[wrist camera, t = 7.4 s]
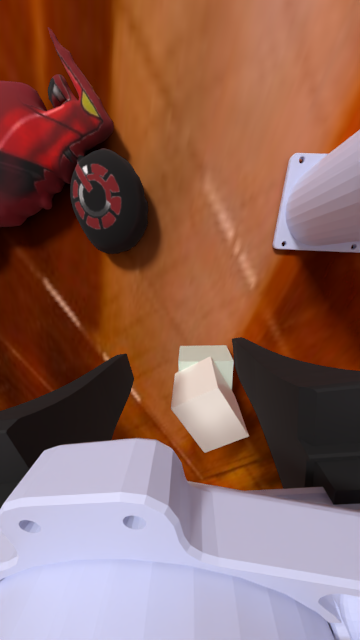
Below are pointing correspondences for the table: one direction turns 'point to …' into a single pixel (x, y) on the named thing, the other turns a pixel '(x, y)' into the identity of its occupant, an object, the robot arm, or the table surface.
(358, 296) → the table surface
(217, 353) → the sage base brick
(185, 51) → the table surface
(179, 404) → the cream brick
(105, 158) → the toy motorcycle
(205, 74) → the table surface
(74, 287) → the table surface
